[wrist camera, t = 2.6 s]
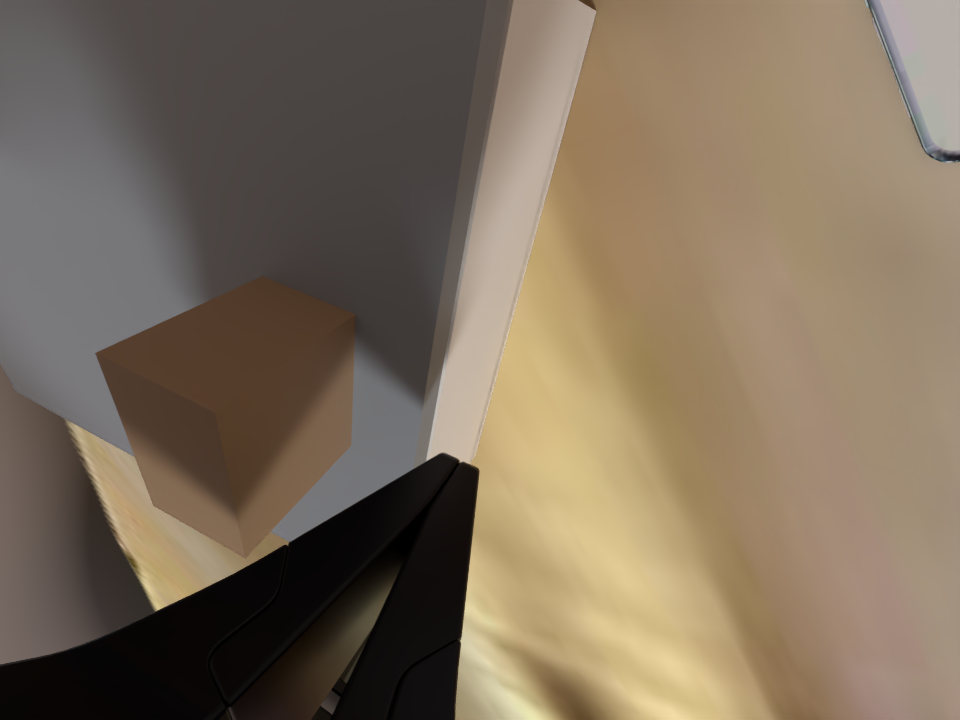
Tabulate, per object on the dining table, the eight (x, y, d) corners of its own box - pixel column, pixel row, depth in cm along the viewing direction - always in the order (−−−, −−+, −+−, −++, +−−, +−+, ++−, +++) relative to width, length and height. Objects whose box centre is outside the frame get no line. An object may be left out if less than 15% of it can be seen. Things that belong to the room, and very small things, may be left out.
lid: (405, 577, 16) (324, 714, 12) (37, 381, 20) (-101, 445, 16) (522, -78, 6) (292, -276, 3) (-263, -223, 10) (-776, -381, 6)
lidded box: (476, 453, 20) (409, 566, 16) (168, 313, 24) (39, 371, 19) (596, 11, 11) (520, -35, 6) (63, -106, 15) (-234, -190, 10)
